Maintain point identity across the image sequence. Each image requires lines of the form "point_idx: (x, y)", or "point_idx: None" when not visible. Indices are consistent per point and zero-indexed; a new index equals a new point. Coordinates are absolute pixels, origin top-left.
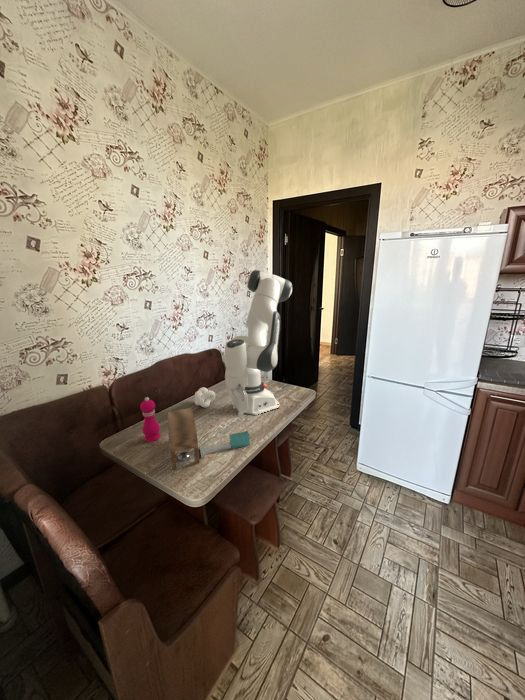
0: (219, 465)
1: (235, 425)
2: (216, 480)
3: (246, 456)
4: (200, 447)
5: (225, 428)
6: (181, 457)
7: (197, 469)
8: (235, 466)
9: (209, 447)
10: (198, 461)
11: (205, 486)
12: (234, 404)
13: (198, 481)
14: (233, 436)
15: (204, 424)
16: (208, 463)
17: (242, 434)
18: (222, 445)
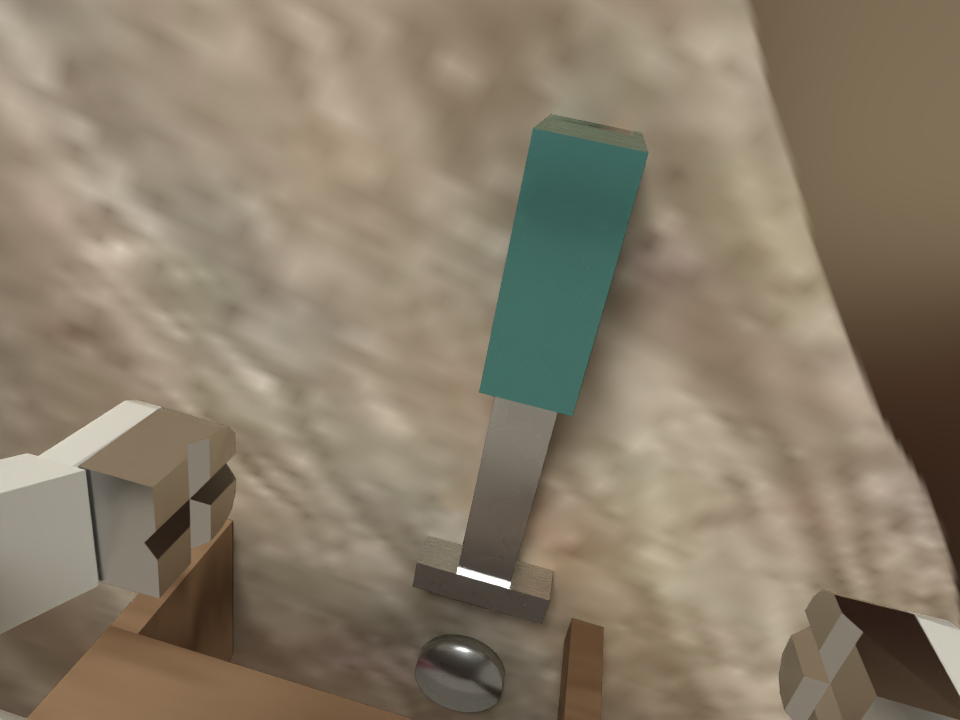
0: (744, 539)
1: (146, 89)
2: None
3: (817, 281)
4: (444, 590)
5: (175, 229)
6: (476, 700)
7: (666, 664)
8: (873, 447)
9: (483, 536)
10: (601, 647)
11: None
12: (146, 561)
13: None
14: (551, 369)
15: (40, 376)
16: (652, 586)
17: (580, 245)
18: (519, 435)
